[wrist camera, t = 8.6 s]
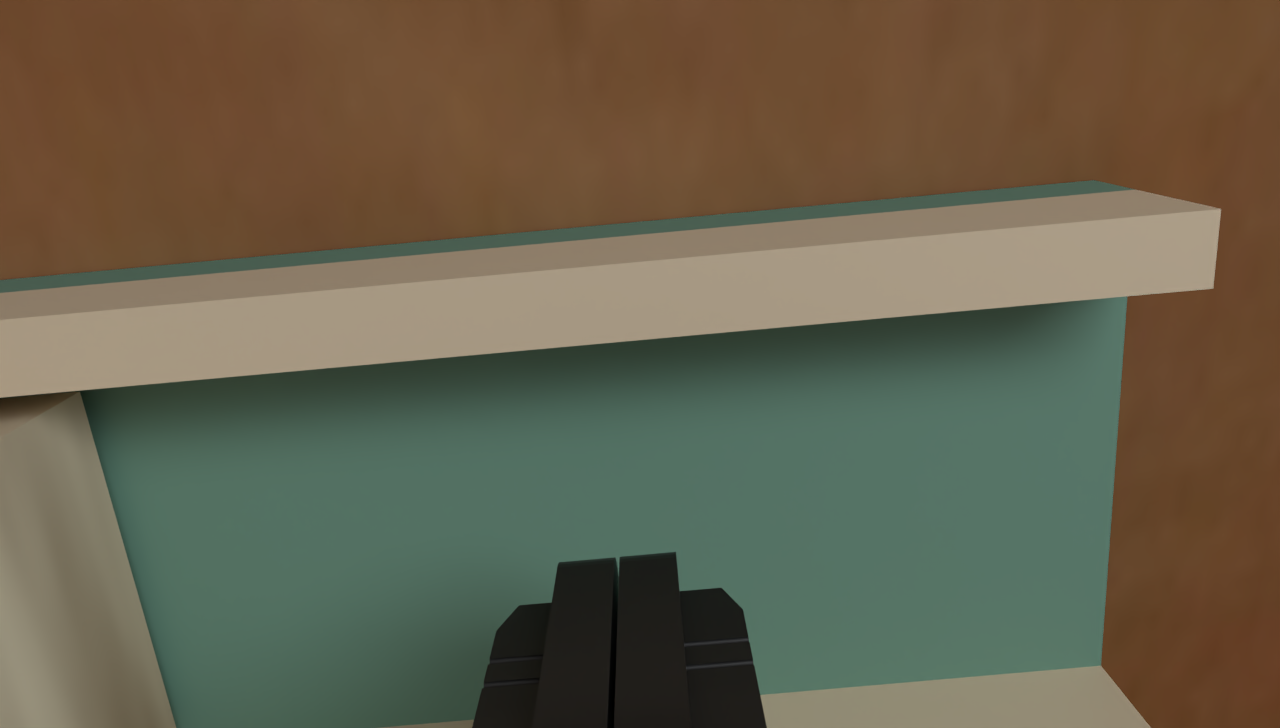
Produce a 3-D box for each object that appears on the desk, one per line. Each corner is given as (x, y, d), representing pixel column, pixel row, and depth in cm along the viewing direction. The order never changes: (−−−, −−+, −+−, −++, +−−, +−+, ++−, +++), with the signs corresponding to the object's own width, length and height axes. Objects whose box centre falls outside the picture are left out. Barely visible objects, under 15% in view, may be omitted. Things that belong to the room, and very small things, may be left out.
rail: (1094, 180, 14) (1423, 254, 8) (1065, 672, 17) (1300, 989, 11) (-425, 319, 15) (-1136, 486, 9) (-216, 781, 17) (-652, 1149, 11)
